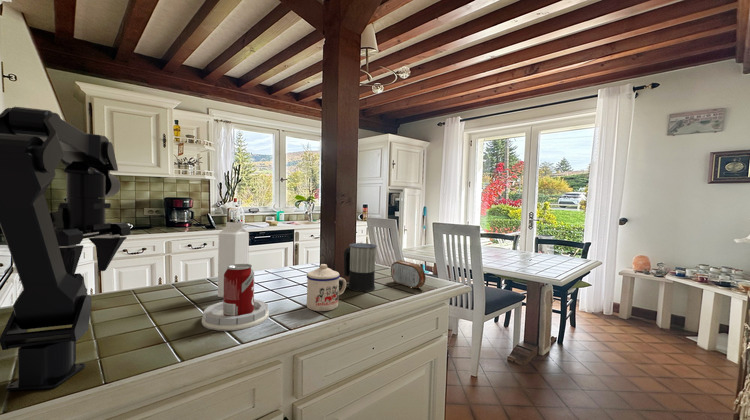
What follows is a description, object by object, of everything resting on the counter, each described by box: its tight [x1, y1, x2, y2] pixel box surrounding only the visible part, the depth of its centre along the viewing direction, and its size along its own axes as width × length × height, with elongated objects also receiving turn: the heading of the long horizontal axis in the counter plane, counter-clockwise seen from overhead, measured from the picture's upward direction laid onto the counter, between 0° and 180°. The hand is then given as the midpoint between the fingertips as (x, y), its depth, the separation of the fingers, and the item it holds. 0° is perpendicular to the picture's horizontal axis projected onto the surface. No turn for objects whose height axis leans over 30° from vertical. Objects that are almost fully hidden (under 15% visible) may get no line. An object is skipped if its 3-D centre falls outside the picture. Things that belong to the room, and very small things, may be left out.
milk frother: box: [338, 242, 377, 293], centre depth 105 cm, size 14×16×15 cm
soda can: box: [222, 263, 255, 316], centre depth 76 cm, size 7×7×12 cm
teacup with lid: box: [306, 263, 347, 312], centre depth 88 cm, size 12×9×12 cm
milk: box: [217, 221, 250, 299], centre depth 95 cm, size 6×6×22 cm
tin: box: [390, 259, 426, 289], centre depth 112 cm, size 15×3×8 cm, turn 40°
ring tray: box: [201, 298, 270, 332], centre depth 77 cm, size 15×15×2 cm
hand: (86, 276), depth 63 cm, fingers open, 9 cm apart
